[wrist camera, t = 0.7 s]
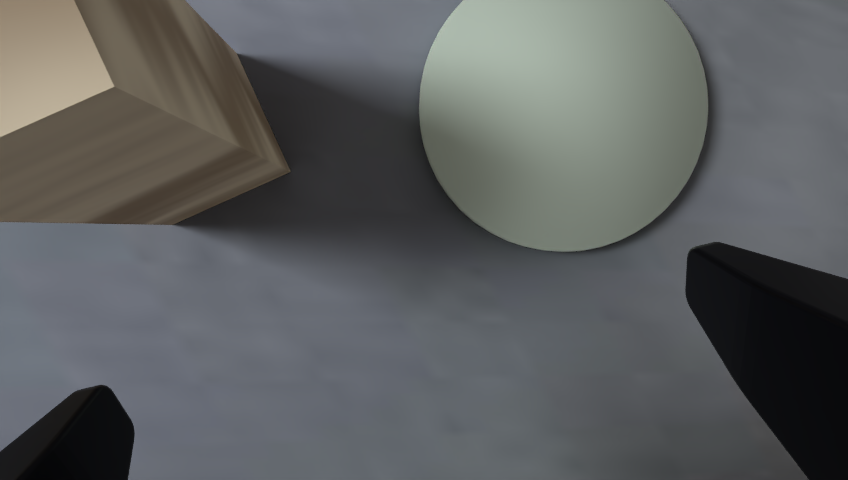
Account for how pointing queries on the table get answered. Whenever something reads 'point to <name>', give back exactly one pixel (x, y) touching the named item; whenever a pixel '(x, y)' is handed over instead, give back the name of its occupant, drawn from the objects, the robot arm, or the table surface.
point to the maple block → (124, 114)
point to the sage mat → (563, 117)
